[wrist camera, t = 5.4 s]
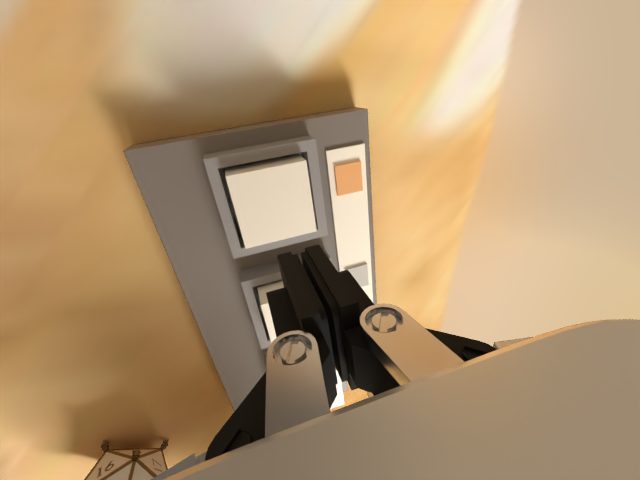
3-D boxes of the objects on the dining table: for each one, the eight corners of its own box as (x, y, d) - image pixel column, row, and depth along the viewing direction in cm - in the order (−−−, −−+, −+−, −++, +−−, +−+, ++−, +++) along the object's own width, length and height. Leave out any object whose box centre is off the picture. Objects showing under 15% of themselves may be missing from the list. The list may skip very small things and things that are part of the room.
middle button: (326, 317, 24) (334, 335, 22) (270, 334, 23) (274, 354, 21) (319, 270, 22) (327, 285, 20) (257, 287, 21) (260, 305, 19)
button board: (371, 354, 32) (387, 382, 29) (237, 400, 29) (239, 436, 26) (355, 107, 21) (378, 110, 18) (132, 145, 18) (115, 156, 15)
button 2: (308, 219, 21) (316, 231, 19) (243, 234, 20) (245, 248, 18) (298, 153, 19) (306, 160, 17) (224, 168, 18) (225, 176, 16)
